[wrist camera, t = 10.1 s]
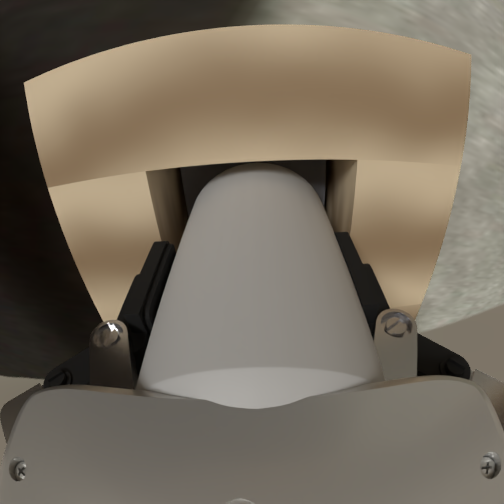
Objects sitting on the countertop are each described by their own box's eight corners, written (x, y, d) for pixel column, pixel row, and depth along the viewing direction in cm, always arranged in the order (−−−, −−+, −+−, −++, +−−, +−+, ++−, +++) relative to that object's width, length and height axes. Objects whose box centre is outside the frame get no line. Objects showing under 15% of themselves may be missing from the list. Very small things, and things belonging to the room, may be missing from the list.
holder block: (97, 68, 14) (24, 82, 8) (398, 50, 14) (470, 54, 8) (152, 296, 24) (129, 367, 19) (371, 287, 24) (398, 357, 18)
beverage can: (335, 246, 16) (401, 474, 6) (227, 283, 18) (210, 502, 8) (296, 136, 13) (411, 401, 3) (170, 189, 14) (60, 438, 4)
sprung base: (181, 143, 15) (177, 148, 14) (322, 135, 15) (327, 140, 14) (200, 257, 19) (198, 267, 19) (317, 252, 19) (320, 261, 18)
